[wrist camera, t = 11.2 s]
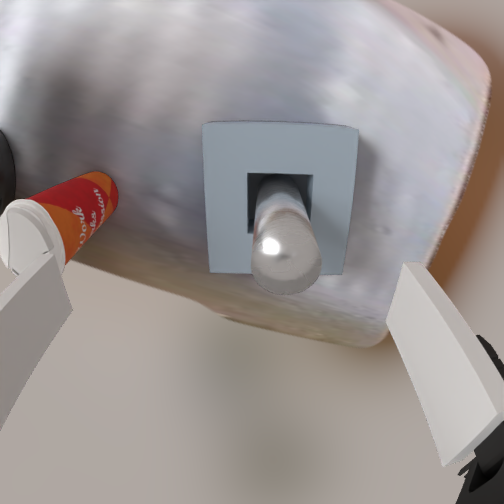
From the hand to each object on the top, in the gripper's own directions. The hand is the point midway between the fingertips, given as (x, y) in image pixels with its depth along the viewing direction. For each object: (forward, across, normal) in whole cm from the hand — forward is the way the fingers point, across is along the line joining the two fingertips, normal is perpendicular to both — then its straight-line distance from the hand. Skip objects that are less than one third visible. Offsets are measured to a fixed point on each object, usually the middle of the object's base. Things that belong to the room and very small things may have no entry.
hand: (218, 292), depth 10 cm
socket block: (+21, +3, -3) cm, 22 cm away
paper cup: (+22, -17, -3) cm, 28 cm away
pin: (+20, +3, -2) cm, 21 cm away
